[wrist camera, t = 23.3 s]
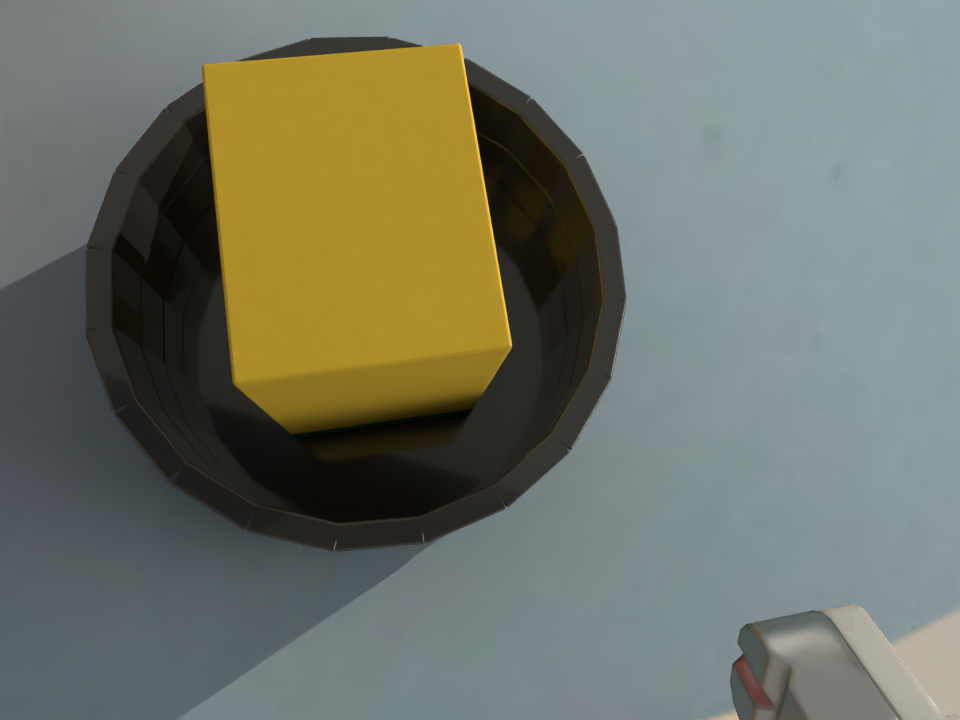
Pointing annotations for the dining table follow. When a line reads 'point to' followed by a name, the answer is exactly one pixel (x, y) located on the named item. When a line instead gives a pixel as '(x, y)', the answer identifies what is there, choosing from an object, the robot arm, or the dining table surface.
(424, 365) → the sponge
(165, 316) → the bowl
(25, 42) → the dining table surface
